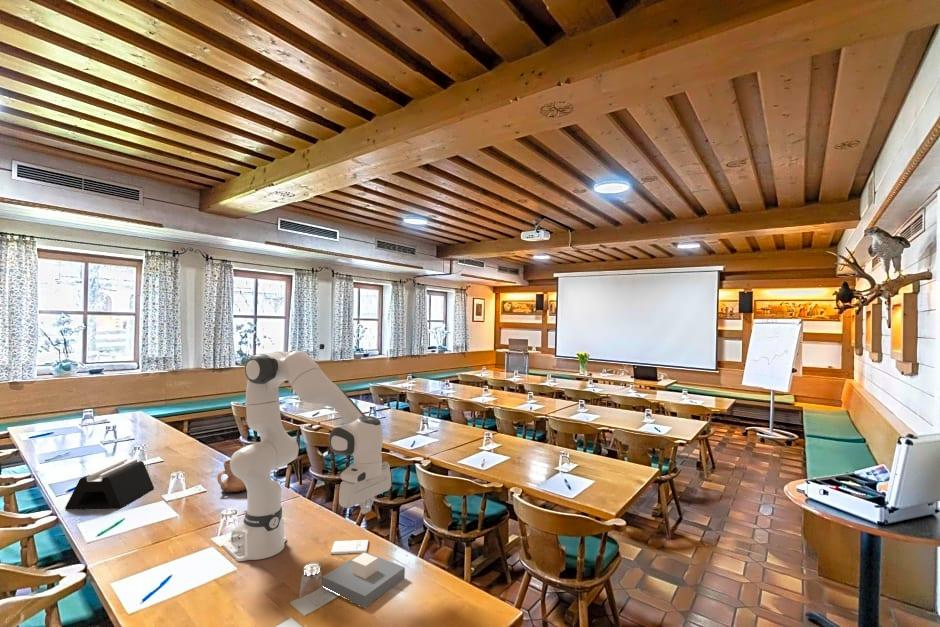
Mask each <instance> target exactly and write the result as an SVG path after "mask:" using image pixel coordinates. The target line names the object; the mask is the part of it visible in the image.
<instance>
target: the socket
mask: <svg viewBox="0 0 940 627" xmlns="http://www.w3.org/2000/svg"><path fill="white" fill-rule="evenodd" d="M363 553H366V554H369V555H372V556H374V557H377V558H378V571H376V572H375V573H373V574H372V575H370V576H369V577H368V578H366V579H364V578H362V577H359V576H357V575H355V574H352V573H351V566H352V560H353V559H354V558H356V557H358V556H359V555H361V554H363ZM363 553H358V554H357V555H356V556H355V557H353V558H351V559H349V560H348V561H346V562H344V563H343V564H341V565H340V566H337V567H335V569H333V570H331V571H330V572H327V573H326V574H325V575H323V576H322V579H321V580H322V583H321V585H323V586H324V587H326V588H328V589H330V590H332V591H334V592H336V593H338V594H340V595H341V596H343V597H345V598H347V599H349V600H350V601H352V602H354V603H356V604H357V605H356V604H355V605H356V606H358V605H360V606H362V607H364V608H365V607H366V608H368V607H369V606H370V605H371V604H372V602H373V601H374V602H375V601H376V599H377V600H378V599H379V598H381V597H382V596H383V595H385V594H386V593H387V592H388V591H390V590H391V589H392V588H394V587H395V586H397V585H398V584H399V583H400V582H401V581H403V580H404V579H405V575H406V574H405V572H406V571H405V570H406V568H405V566H403V565H399V564H398V563H395V562H392V561H390V560H387V559H385V558H383V557H380V556H377V555H374V554H371V553H369V552H368V551H367V552H363ZM350 601H349V602H350ZM352 602H351V603H352ZM374 602H373V603H374ZM354 603H353V604H354ZM369 604H370V605H369ZM368 605H369V606H368ZM360 606H359V607H360ZM362 607H361V608H362ZM364 608H363V609H364ZM366 608H365V609H366Z"/></svg>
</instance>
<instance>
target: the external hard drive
mask: <svg viewBox="0 0 940 627" xmlns="http://www.w3.org/2000/svg"><path fill="white" fill-rule="evenodd" d="M368 547H369V539H360V540H359V539H357V540H356V539H355V540H335V541H334V542H333V544H332V548H331V551H330V555H331V554H340V555H349V554H348V553H358V554H361V553H360V552H367V553H368ZM346 553H347V554H346Z"/></svg>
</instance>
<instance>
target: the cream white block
mask: <svg viewBox="0 0 940 627" xmlns="http://www.w3.org/2000/svg"><path fill="white" fill-rule="evenodd" d="M360 554H361V553H360ZM369 554H370V553H369ZM369 554H366V553H363V554H361V555H359V554H358V555H359V556H358V555H357V556H358V557H356V556H355V557H356V558H354V557H353V558H354V559H353V558H352V559H353V560H352V566H351V573H352V574H355V575H357V576H359V577H362V578H364V579H366V578H368V577H369V576H370V575H372V574H373V573H375V572H376V571H378V558H377V557H378V556H377V557H374V556H372V555H373V554H372V555H369Z"/></svg>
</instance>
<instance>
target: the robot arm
mask: <svg viewBox="0 0 940 627" xmlns="http://www.w3.org/2000/svg"><path fill="white" fill-rule="evenodd" d="M244 373H245V376H246V378H247V382H246V389H245V410H246V411H245V412H246V413H245V414H246V424H247V426H248V428H249V429H250V430H252V431H255V432H257V434H258V436H259V437H260V442H256V443H252V444H248V445H245V446H244V447H240V449H238V450H237V451H235V452H233V454H232V455H231V457H230V459H231V460H230V459H229V460H230V469H231V472H232V473H233V474H234V476H236V477H237V478H239V479H241V480H242V481H243V482H244V484H245V486H246V489H247V490H246V494H247V496H246V498H247V502H246V504H247V505H246V506H247V509H246V510H245V511H244V510H243V513H242V515H243V516H244V518H243V521H241V522H240V523H239V524H238V525H236V526H235V527H234V528H233V529H232V531H231V535H230V539H229V540H227V541H226V542H224V543H223V547H222V548H223V549H224V550H225V551H226V552H227V553H229V555H230V556H231V557H232V558H233V559H234V560H236V561H237V562H246V561H257V560H263V559H267V558H271V557H273V556H275V555H278V554H279V553H280V552H282V551H283V550H284V549H285V542H286V541H287V540H286V539H287V538H288V537H287V536H286V535H285V523H284V518H283V507H282V487H281V485H280V484H279V482H277V481H276V480H272V478H271V472H272V471H274V470H277V469H280V468H281V467H285V466H287V465H288V464H289V463H291V462H293V461H295V459H297V457H298V455H299V449H300V447H299V445H298V441H296V439H295V438H294V437H292V436H291V435H289V434H288V432H287V431H286V429H285V428H284V426H283V422H282V418H281V416H282V415H281V409H280V406H281V405H280V396H279V395H280V394H279V387H280V386H281V384H282V383H285V384H288V383H289V385H290V386H291V388H292V389H293V391H294V393H295V394H296V395H297V397H298V398H299V399H301V400H302V401H303V402H305V403H308V404H312V405H314V404H315V405H323V406H326V407H330V408H332V409H334V410H335V411H337V413H338V414H339V415H340V416H341V417H342V419H343V420H344V421H345V422H346V424H345V423H344V424H342V425H338V426H336V427H334V428H333V429H332V430H331V431H330V432H329V433H330V434H329V437H328V444H329V447H330V450H331V451H332V452H333V453H334V454H335V455H336V456H339V457H340V456H341V457H345V456H352V457H353V462H352V463H351V464H350V465H349V466H347V468H346V469H344V470H343V471H342V472H341V473H340V479H341V480H342V481H341V482H340V485H339V493H338V503H339V505H340V507H342V508H345V509H350V508H352V507H354V506H357V505H359V507H360V513H361V514H363V515H366V514H367V513H369V512H371V511H372V506H373V503H374V501H375V497H376V496H378V495H380V494H383V493H385V492H388V491H390V489H391V487H392V473H391V469H390V467H391V465H390V462H388V461H384V462H383V456H382V448H383V445H384V444H383V441H384V440H383V439H384V436H383V435H384V434H383V425H382V422H381V420H380V419H379V418H377V417H375V416H370V415H366V414H364V412H363V411H361V409H360V407H359V406H358V405H356V404H355V402H354V401H353V400H352V399H351V398H350V396H349V395H348V394H347V393H346V392H345V391H344V390H343V389H342V388H341V387H339V386H338V385H336V384H335V383H334V382H333V381H331V379H329V377H328V376H327V375H326V374H325V373H324V372H323V370H322V369H321V367H320V366H319V364H318V363H317V362H316V361H315V360H314V358H312V357H311V356H310V355H309V354H308V353H307V352H306V351H303V350H294V351H291V350H290V351H274V352H267V353H257V354H254V355H253V356H250V357H249V358H248V359H247V360H246V363H245V366H244Z"/></svg>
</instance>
